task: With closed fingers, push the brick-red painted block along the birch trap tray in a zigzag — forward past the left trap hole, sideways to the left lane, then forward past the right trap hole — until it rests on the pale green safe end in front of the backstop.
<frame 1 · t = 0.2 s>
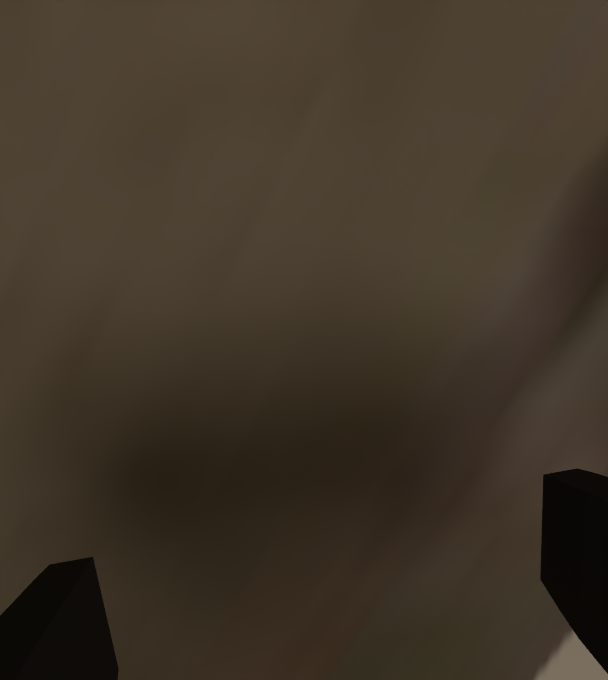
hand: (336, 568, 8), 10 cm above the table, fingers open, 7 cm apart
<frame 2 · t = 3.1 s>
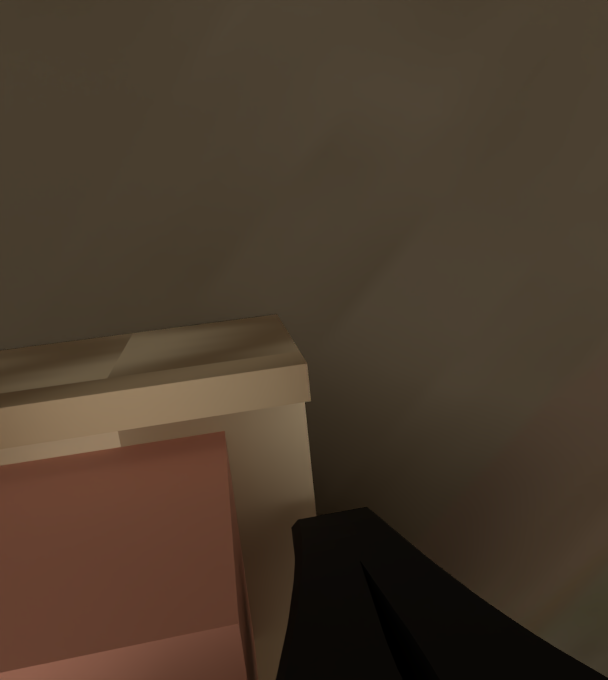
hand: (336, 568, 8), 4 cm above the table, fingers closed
brick block: (115, 565, 9), point 3 cm above the table, touching gripper
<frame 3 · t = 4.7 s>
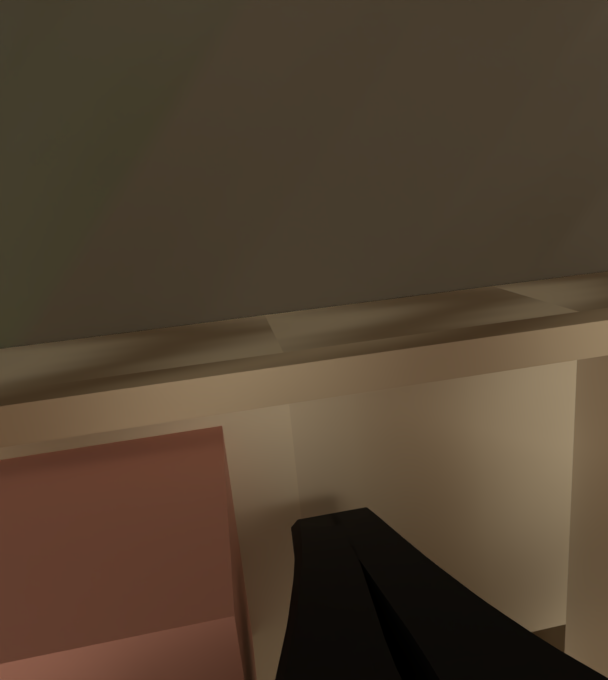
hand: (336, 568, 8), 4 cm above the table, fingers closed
brick block: (112, 560, 9), point 3 cm above the table, touching gripper
trap tray: (133, 593, 13), on the table
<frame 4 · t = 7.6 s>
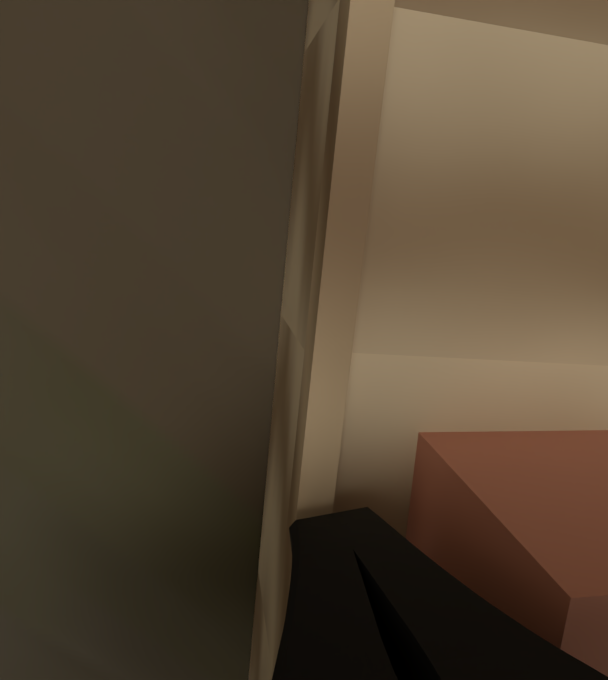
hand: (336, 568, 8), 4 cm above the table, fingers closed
brick block: (508, 531, 10), point 3 cm above the table, touching gripper, trap tray
trap tray: (507, 474, 14), on the table
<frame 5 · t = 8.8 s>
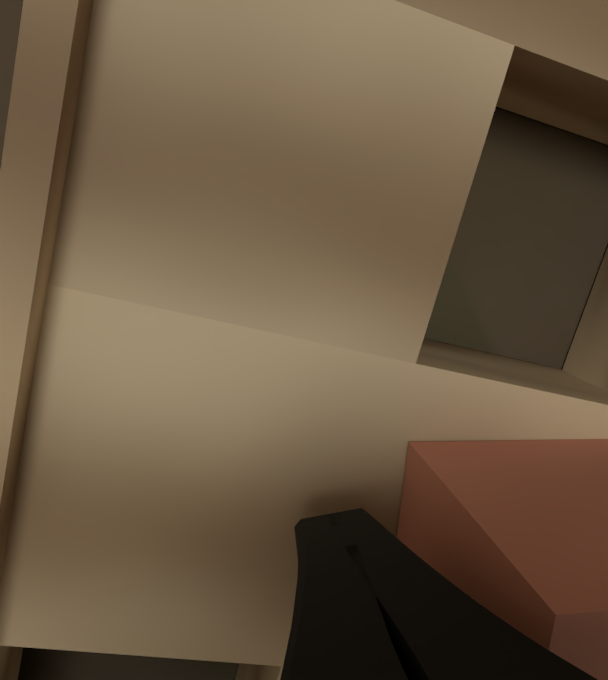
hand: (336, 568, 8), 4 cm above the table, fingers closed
brick block: (497, 539, 10), point 3 cm above the table, touching gripper, trap tray
trap tray: (307, 473, 13), on the table
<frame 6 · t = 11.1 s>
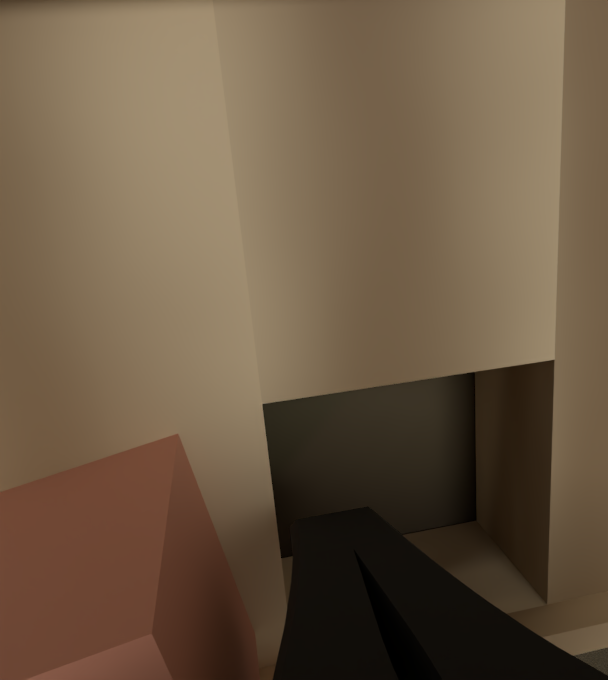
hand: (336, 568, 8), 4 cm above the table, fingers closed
brick block: (98, 582, 9), point 3 cm above the table, touching gripper
trap tray: (61, 361, 11), on the table
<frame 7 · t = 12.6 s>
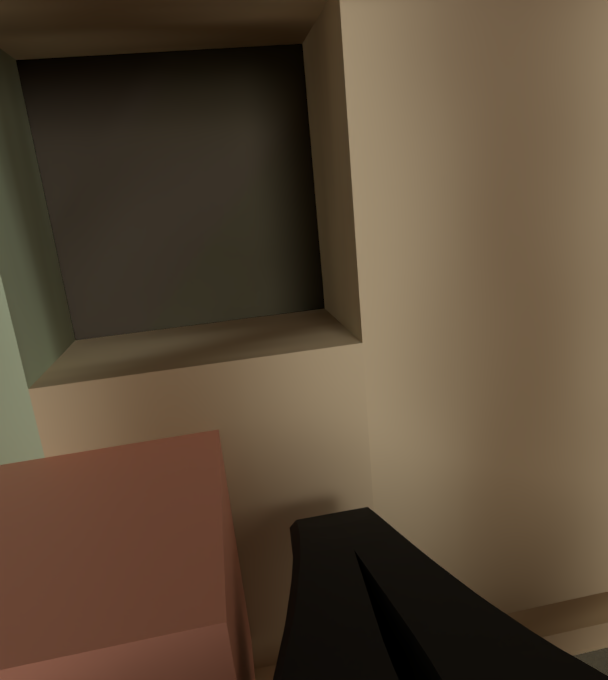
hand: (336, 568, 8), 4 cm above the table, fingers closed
brick block: (110, 564, 9), point 3 cm above the table, touching gripper
trap tray: (438, 311, 12), on the table
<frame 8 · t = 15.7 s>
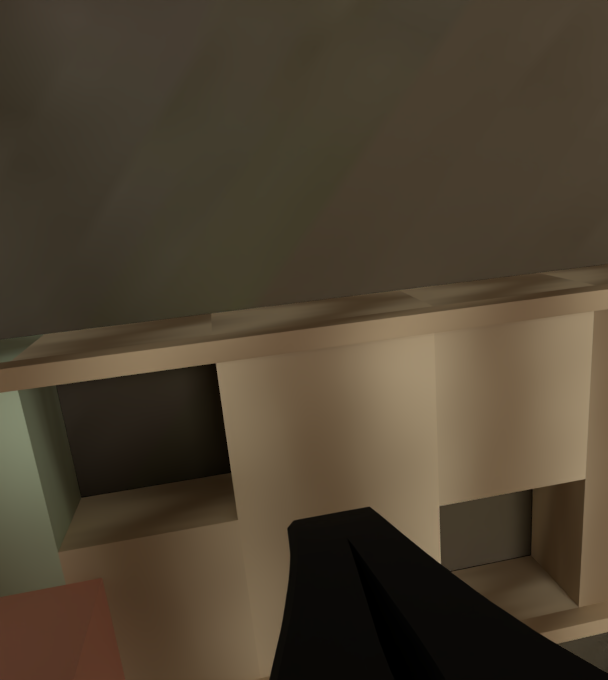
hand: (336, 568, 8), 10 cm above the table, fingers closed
brick block: (43, 650, 16), point 3 cm above the table, touching trap tray
trap tray: (306, 470, 20), on the table
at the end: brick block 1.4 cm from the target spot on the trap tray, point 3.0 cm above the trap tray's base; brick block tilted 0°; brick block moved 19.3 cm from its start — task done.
